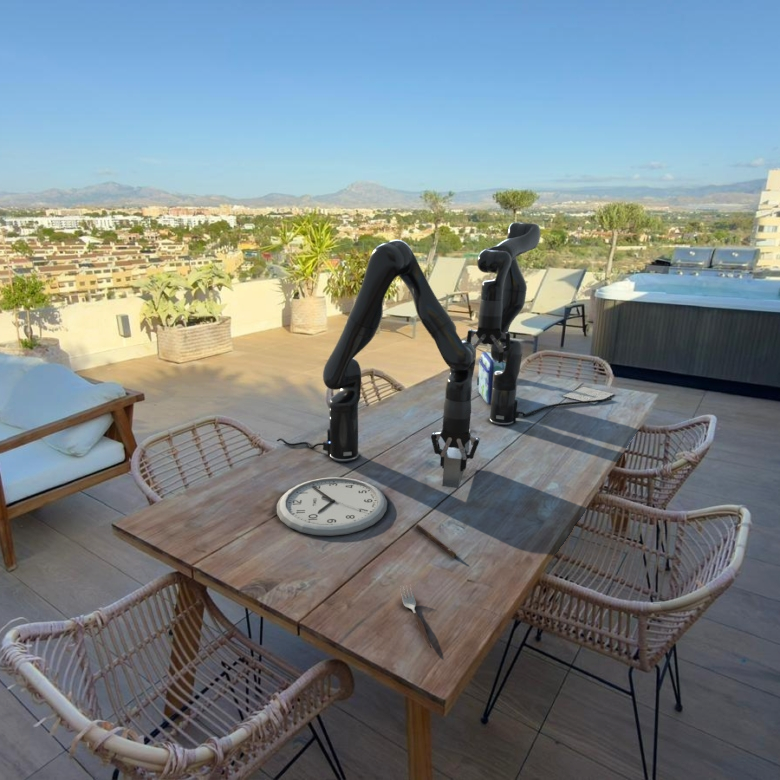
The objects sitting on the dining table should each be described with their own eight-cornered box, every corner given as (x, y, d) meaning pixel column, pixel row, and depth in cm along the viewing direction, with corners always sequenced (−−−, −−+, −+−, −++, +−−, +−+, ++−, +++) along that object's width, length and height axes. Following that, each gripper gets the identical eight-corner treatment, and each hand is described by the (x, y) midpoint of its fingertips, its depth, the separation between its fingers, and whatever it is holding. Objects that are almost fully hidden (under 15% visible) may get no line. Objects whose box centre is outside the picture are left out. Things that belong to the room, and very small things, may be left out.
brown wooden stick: (415, 527, 132) (415, 524, 132) (417, 527, 133) (417, 523, 132) (454, 558, 121) (454, 554, 120) (455, 557, 121) (456, 553, 121)
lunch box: (475, 390, 246) (478, 346, 240) (498, 390, 246) (501, 347, 240) (484, 408, 221) (487, 360, 215) (509, 409, 221) (513, 360, 215)
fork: (423, 651, 94) (424, 642, 93) (398, 593, 109) (398, 585, 108) (437, 648, 95) (437, 639, 94) (410, 591, 109) (411, 583, 109)
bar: (454, 453, 171) (456, 427, 168) (468, 455, 169) (470, 429, 167) (442, 486, 150) (444, 457, 147) (458, 488, 148) (460, 459, 146)
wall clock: (392, 527, 129) (268, 531, 127) (391, 533, 130) (269, 537, 127) (383, 473, 158) (282, 475, 155) (383, 478, 158) (282, 480, 156)
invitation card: (583, 386, 254) (614, 393, 243) (583, 387, 254) (614, 394, 244) (562, 395, 239) (594, 403, 229) (562, 396, 239) (594, 404, 229)
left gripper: (429, 414, 143) (426, 470, 149) (481, 421, 140) (476, 478, 145) (434, 406, 150) (431, 460, 156) (484, 411, 147) (479, 466, 152)
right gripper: (467, 313, 169) (464, 362, 174) (511, 316, 166) (507, 366, 171) (470, 310, 176) (467, 357, 181) (513, 313, 173) (509, 360, 178)
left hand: (453, 468), depth 150 cm, fingers closed on bar, 4 cm apart
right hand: (486, 361), depth 176 cm, fingers open, 8 cm apart
